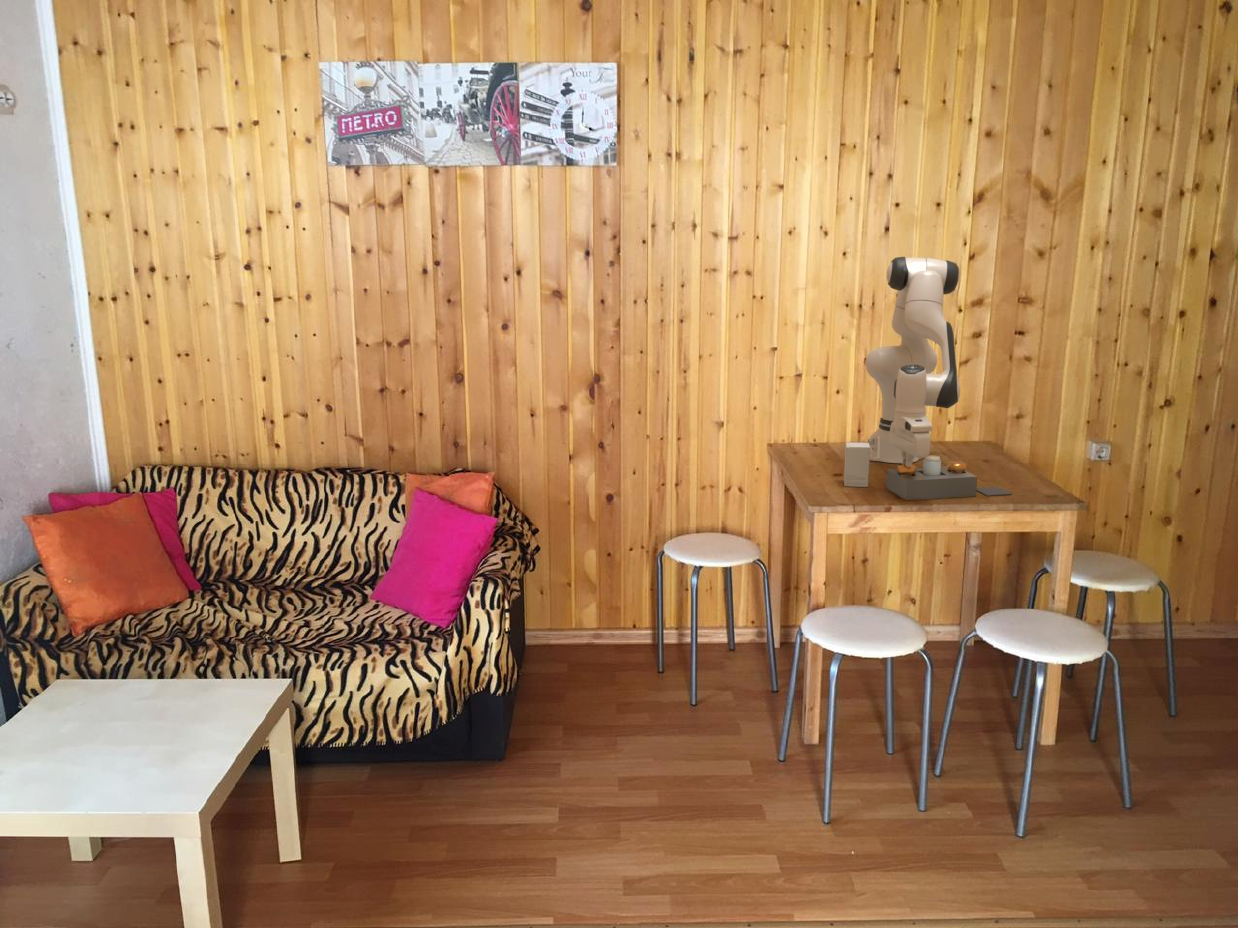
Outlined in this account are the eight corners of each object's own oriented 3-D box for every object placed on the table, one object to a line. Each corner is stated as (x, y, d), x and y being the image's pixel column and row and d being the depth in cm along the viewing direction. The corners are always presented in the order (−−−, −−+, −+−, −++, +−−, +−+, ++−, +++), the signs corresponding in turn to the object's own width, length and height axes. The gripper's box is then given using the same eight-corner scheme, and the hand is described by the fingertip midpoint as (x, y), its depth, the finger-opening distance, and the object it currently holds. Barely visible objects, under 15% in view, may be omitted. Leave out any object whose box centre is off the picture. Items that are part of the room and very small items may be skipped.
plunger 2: (943, 485, 308) (944, 461, 307) (959, 484, 309) (960, 460, 307) (951, 489, 303) (953, 465, 302) (967, 488, 304) (969, 464, 302)
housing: (886, 488, 310) (887, 469, 309) (953, 484, 314) (954, 465, 312) (906, 500, 297) (907, 480, 295) (976, 496, 300) (977, 476, 299)
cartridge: (918, 490, 307) (921, 455, 305) (934, 489, 308) (936, 454, 305) (926, 494, 302) (928, 459, 300) (942, 493, 303) (944, 458, 301)
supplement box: (868, 487, 312) (870, 447, 309) (843, 486, 313) (845, 446, 310) (867, 481, 319) (869, 442, 316) (843, 480, 320) (845, 441, 317)
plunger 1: (893, 488, 306) (895, 464, 304) (910, 487, 307) (911, 463, 305) (901, 493, 301) (902, 468, 299) (917, 492, 302) (919, 467, 300)
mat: (973, 489, 307) (973, 488, 307) (998, 488, 309) (998, 486, 308) (987, 496, 300) (987, 495, 300) (1012, 494, 301) (1012, 493, 301)
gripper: (884, 414, 308) (882, 458, 311) (914, 427, 289) (912, 474, 292) (904, 413, 309) (902, 457, 312) (935, 426, 289) (932, 473, 293)
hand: (907, 466), depth 302 cm, fingers closed, pressing on plunger 1
